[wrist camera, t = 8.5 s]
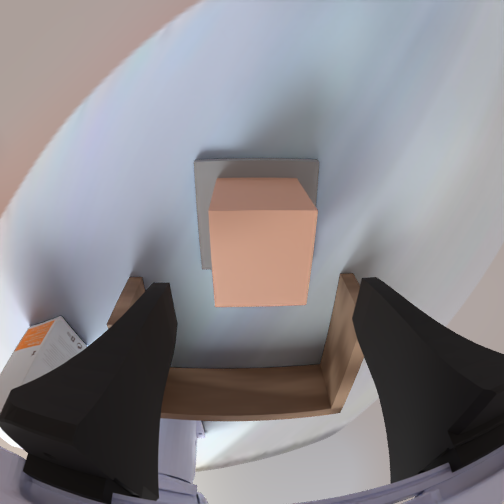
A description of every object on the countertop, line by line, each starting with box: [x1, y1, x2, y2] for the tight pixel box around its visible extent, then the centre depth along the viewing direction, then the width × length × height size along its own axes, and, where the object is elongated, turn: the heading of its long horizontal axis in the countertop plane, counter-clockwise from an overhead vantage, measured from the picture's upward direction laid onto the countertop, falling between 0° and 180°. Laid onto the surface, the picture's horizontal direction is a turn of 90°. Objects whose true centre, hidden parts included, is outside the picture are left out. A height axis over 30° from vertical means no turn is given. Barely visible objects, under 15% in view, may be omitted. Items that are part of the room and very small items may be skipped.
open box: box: [107, 273, 364, 421], centre depth 21 cm, size 11×16×5 cm
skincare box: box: [0, 316, 87, 450], centre depth 18 cm, size 6×4×12 cm
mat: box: [194, 158, 319, 269], centre depth 18 cm, size 7×7×1 cm
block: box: [208, 178, 318, 307], centre depth 16 cm, size 5×4×5 cm
